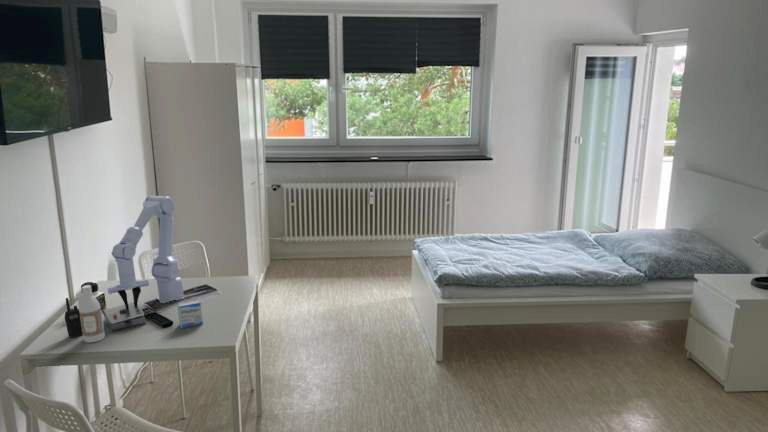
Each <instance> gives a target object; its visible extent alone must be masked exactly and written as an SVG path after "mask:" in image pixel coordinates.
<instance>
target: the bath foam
mask: <svg viewBox="0 0 768 432" xmlns="http://www.w3.org/2000/svg"><path fill="white" fill-rule="evenodd" d="M82 292H83V298H82V300H81V302H80V305H78V309H79V314H80V320H81V326H82V332H83V335H82V337H83V338H82V339H83V342H85V343H89V344H90V343H96V342H100V341H102V340H103V339H104V338H105V337H106V333H105V332H106V331H105V327H104V321H103V320H104V319H103V313H102V311H101V307H100V303H99V302H98V300H97V299H96V298H95V297H94V296H93V295H92V289H91V286H90V285H86V286H83V287H82V290H81V293H82Z"/></svg>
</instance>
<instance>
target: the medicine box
mask: <svg viewBox="0 0 768 432" xmlns="http://www.w3.org/2000/svg"><path fill="white" fill-rule="evenodd" d="M176 305H177V313H178V319H179V321H178V322H179V325H180V328H181V329H186V328H191V327H196V326H200V325H203V324H204V322H203V312H202V303H201V302H200V300H199V299H195V300H189V301H184V302H180V303H177V304H176Z"/></svg>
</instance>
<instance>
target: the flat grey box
mask: <svg viewBox="0 0 768 432" xmlns="http://www.w3.org/2000/svg"><path fill="white" fill-rule="evenodd" d="M103 318H104V319H103V320H104V322H105V323H106V325H107V327H108V330H110V332H111V333H115V332H120V331H123V330H127V329H132V328H135V327H139V326H144V325H146V323H147V322H146V317H145V314H144V315H142V316H139V317H135V318H132V319H128V320H125V321H121V322H117V323H114V324H111V325H109V323H108V322H107V320H106V318H105V316H104V315H103Z"/></svg>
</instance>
